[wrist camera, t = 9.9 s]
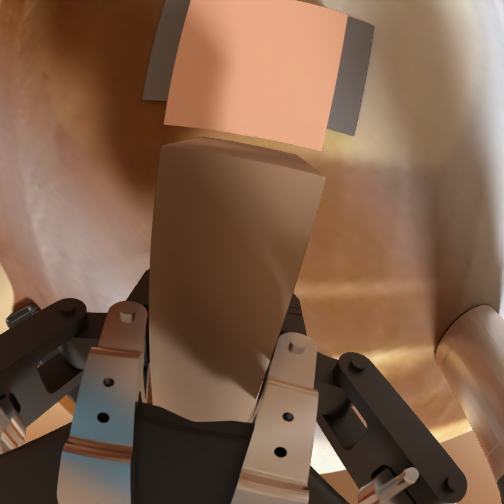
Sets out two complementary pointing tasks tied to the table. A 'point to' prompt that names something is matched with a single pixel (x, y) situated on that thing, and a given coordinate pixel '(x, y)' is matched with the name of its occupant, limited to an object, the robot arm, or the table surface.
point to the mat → (347, 78)
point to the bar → (223, 270)
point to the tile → (257, 69)
